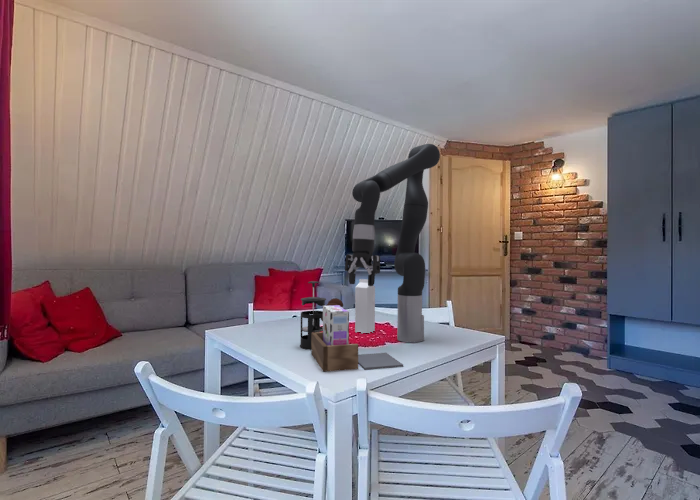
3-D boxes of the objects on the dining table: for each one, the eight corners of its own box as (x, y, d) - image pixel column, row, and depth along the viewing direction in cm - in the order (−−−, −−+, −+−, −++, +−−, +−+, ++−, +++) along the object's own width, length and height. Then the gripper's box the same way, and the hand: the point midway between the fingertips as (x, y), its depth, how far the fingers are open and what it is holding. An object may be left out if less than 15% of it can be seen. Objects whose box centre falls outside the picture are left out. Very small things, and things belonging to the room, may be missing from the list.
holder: (341, 351, 133) (341, 331, 132) (358, 368, 114) (358, 344, 114) (311, 353, 130) (311, 332, 130) (323, 371, 111) (323, 346, 111)
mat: (386, 354, 130) (386, 352, 130) (403, 366, 116) (403, 364, 116) (351, 356, 126) (351, 355, 126) (364, 369, 113) (364, 367, 113)
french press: (322, 350, 134) (323, 283, 134) (296, 349, 135) (296, 282, 135) (329, 342, 146) (330, 280, 145) (305, 341, 147) (305, 279, 147)
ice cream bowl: (321, 333, 162) (321, 296, 162) (348, 334, 160) (348, 297, 160) (315, 339, 151) (315, 299, 151) (344, 340, 150) (344, 300, 150)
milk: (363, 330, 169) (363, 278, 169) (375, 331, 165) (375, 279, 165) (354, 332, 164) (355, 279, 164) (366, 334, 160) (367, 279, 160)
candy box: (349, 367, 116) (349, 310, 116) (329, 368, 115) (330, 311, 114) (339, 354, 129) (340, 304, 129) (322, 355, 128) (322, 304, 128)
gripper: (386, 239, 136) (384, 286, 135) (355, 239, 145) (353, 283, 145) (372, 237, 130) (369, 286, 130) (341, 237, 140) (339, 283, 139)
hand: (361, 284), depth 137 cm, fingers open, 8 cm apart
